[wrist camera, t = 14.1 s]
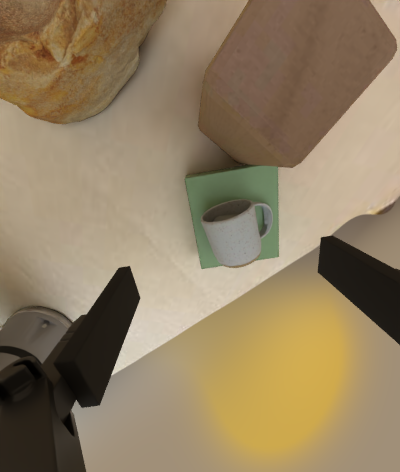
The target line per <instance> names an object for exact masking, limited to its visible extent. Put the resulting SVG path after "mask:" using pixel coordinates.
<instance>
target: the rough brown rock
mask: <svg viewBox="0 0 400 472" xmlns="http://www.w3.org/2000/svg"><path fill="white" fill-rule="evenodd" d="M166 1H167V0H0V98H1V99H3V100H5V101H8V102H10V103H12V104H15V105H17V106H18V107H19V108H20V109H21V110H23V111H24V112H25V113H26V114H27V115H29V116H31V117H33V118H37V119H40V120H44V121H48V122H51V123H56V124H67V123H70V122H75V121H82V120H84V119H86V118H89V117H91V116H94V115H96V114H98V113H100V112H101V111H102V110H104V109H105V108H106V107H107V106H108V105H109V104H110V103H111V101H112V100H113V99H114V97H115V96H116V94H117V93H118V92H119V91H120V90H121V89H122V87H123V86H124V85H125V83H126V82H127V81H128V80H129V78H130V77H131V76H132V75H133V74H134V72H135V71H136V69H137V67H138V64H139V50H138V48H139V46H140V45H141V44H142V43H143V41H144V39H145V38H146V36H147V34H148V31H149V29H150V28H151V26H152V25H153V24H154V23H155V22H156V21H157V19H158V18H159V17H160V15H161V14H162V12H163V10H164V8H165V5H166Z"/></svg>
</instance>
